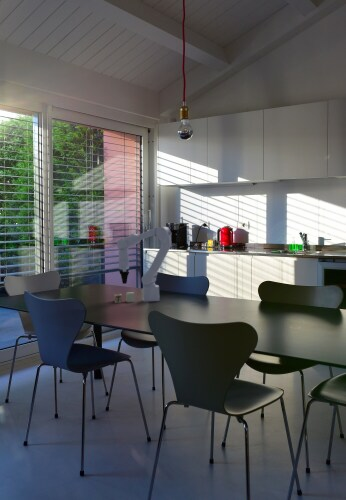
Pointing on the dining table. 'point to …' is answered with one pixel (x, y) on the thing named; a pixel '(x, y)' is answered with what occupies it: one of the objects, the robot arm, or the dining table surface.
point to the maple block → (118, 298)
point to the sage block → (130, 297)
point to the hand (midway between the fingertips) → (124, 282)
